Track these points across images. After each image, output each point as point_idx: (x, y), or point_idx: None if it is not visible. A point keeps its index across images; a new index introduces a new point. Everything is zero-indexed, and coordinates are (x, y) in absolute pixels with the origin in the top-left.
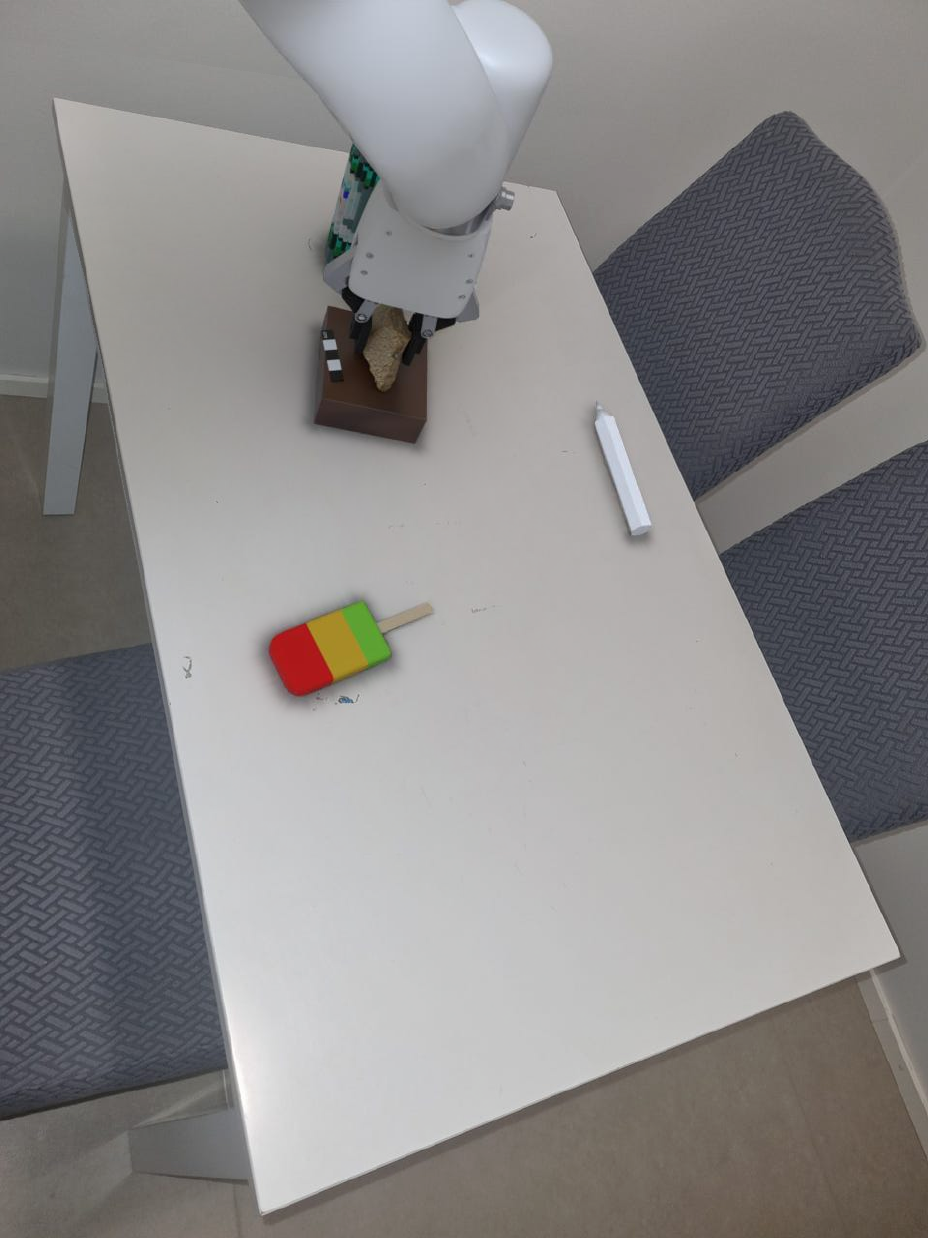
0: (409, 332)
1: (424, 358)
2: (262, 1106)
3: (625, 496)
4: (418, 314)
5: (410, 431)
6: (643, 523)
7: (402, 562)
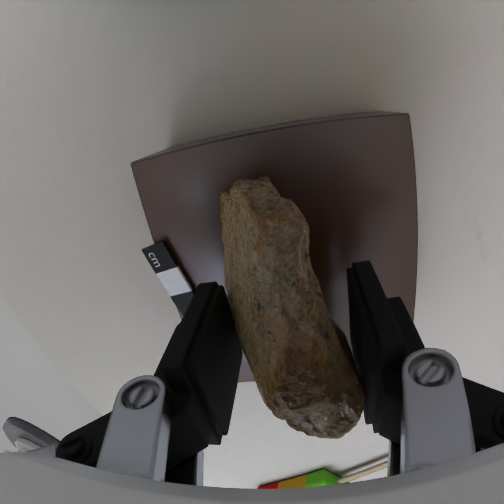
0: (354, 412)
1: (410, 218)
2: None
3: None
4: (386, 400)
5: None
6: None
7: (366, 436)
